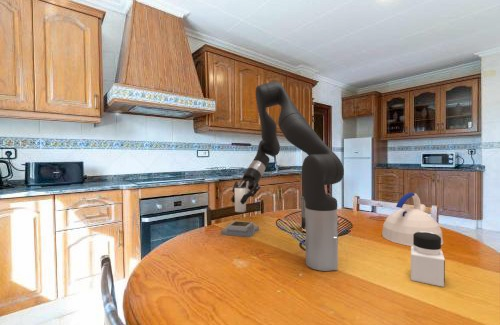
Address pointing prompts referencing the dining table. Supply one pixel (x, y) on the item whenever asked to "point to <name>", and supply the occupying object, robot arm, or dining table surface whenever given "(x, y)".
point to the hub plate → (240, 229)
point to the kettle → (409, 222)
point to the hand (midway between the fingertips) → (237, 202)
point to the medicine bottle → (427, 259)
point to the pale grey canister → (239, 199)
